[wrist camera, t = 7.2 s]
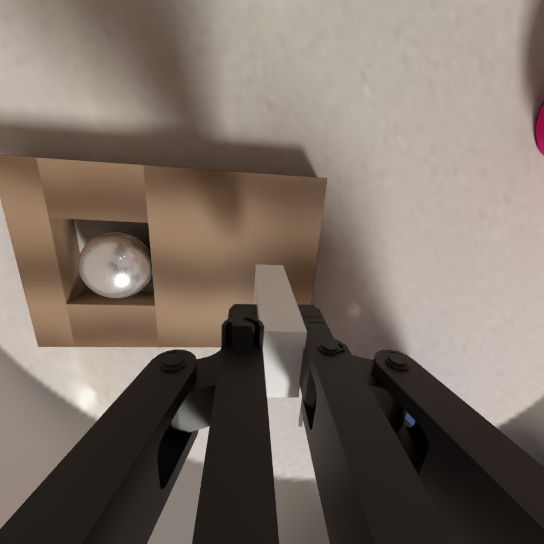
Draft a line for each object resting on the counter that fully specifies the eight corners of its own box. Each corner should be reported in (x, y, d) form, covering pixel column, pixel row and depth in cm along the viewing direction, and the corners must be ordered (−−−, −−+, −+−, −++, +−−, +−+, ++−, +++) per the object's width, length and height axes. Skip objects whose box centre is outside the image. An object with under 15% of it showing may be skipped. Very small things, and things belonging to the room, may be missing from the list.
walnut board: (22, 157, 18) (-11, 154, 16) (317, 177, 20) (327, 178, 18) (60, 328, 22) (38, 346, 20) (300, 330, 24) (305, 347, 22)
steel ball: (125, 238, 16) (164, 231, 20) (54, 233, 16) (107, 227, 20) (131, 311, 17) (166, 289, 21) (64, 304, 17) (113, 284, 22)
